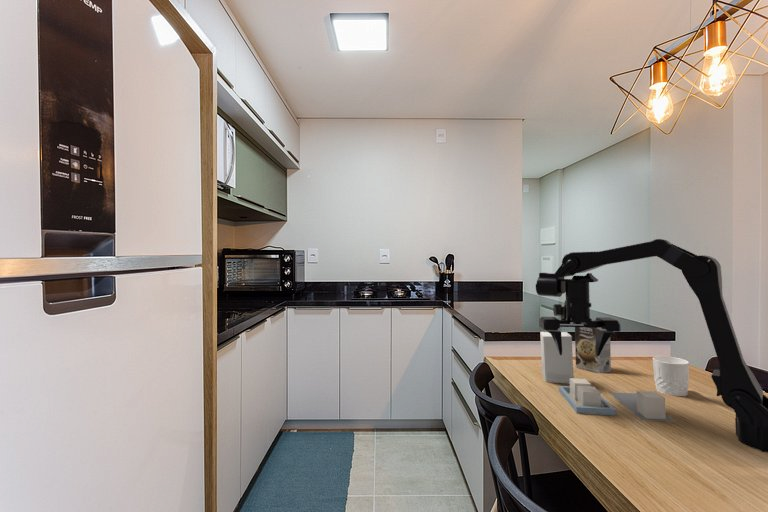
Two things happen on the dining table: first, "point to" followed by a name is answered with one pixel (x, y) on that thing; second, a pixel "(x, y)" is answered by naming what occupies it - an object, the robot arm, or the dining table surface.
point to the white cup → (671, 375)
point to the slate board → (634, 405)
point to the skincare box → (556, 358)
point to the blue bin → (604, 410)
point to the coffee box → (591, 351)
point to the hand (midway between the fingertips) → (578, 355)
